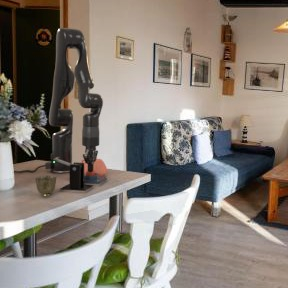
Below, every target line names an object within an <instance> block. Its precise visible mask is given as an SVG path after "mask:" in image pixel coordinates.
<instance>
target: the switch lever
mask: <svg viewBox="0 0 288 288" xmlns="http://www.w3.org/2000/svg"><path fill="white" fill-rule="evenodd" d="M50 161H52V162H54V161H57V162H60V163H62V164H65V165H68V166H70V163H68V162H65V161H63V160H60V158H59V157H55V158H53V159H51V158H50ZM81 167H82V166H81Z"/></svg>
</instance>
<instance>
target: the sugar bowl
mask: <svg viewBox="0 0 288 288" xmlns="http://www.w3.org/2000/svg"><path fill="white" fill-rule="evenodd" d="M80 163H84V174H85V173H86V172H87V171H88V164H87V163H85V161H84V158H83V159H82V160H81V161H80ZM93 171H95V173H97V174H99V176H105V175H106V174H107V173H108V169H107V165H106V163H105V162H104V160H103V159H102V158H96V161H95V162H94V168H93Z"/></svg>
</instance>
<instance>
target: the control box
mask: <svg viewBox="0 0 288 288" xmlns="http://www.w3.org/2000/svg"><path fill="white" fill-rule="evenodd" d="M107 180H108V176H105V175H104V176H99V174H97V173H95V175H93V176H87V175H86V173H85V174H84V184H88V185H100V184H102V183H103V182H105V181H107Z"/></svg>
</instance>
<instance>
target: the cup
mask: <svg viewBox="0 0 288 288" xmlns="http://www.w3.org/2000/svg"><path fill="white" fill-rule="evenodd" d="M35 184H36V185H35V186H36V189H37V192H38V193H39V194H40V195H41V196H42V197H48V196H51V195H52V193H53V192H54V191H55V190H56V184H57V176H52V177H51V176H50V175H49V176H48V175H45V176H42V177H41V176H39V177H38V176H37V177H36V178H35Z"/></svg>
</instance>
